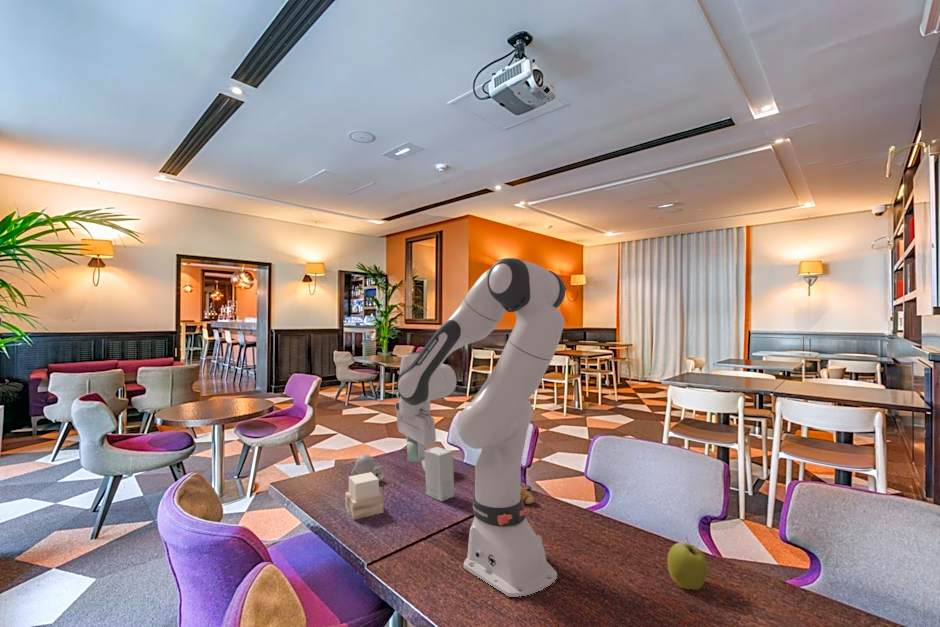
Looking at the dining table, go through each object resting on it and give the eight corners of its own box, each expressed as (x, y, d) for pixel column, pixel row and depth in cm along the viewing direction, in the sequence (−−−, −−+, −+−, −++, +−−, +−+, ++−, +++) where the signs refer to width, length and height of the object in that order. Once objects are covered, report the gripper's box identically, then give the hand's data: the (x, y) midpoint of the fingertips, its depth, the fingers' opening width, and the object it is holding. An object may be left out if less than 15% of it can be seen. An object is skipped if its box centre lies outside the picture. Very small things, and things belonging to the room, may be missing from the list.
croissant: (538, 513, 132) (543, 487, 135) (525, 509, 125) (531, 481, 128) (481, 496, 144) (487, 472, 147) (466, 491, 137) (473, 466, 140)
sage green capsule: (427, 459, 123) (427, 442, 123) (411, 463, 120) (411, 445, 120) (420, 455, 127) (420, 439, 127) (404, 458, 124) (404, 441, 125)
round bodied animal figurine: (371, 493, 145) (378, 472, 144) (346, 475, 150) (353, 454, 149) (384, 485, 152) (391, 465, 150) (360, 468, 157) (367, 448, 155)
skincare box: (454, 497, 136) (454, 451, 136) (440, 502, 132) (440, 455, 132) (438, 489, 142) (438, 445, 142) (424, 494, 138) (424, 449, 138)
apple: (654, 575, 92) (664, 529, 93) (679, 577, 95) (688, 532, 96) (686, 597, 85) (696, 546, 86) (712, 599, 88) (721, 550, 89)
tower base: (383, 513, 125) (383, 496, 125) (353, 520, 120) (353, 503, 120) (373, 502, 133) (373, 486, 133) (345, 508, 128) (345, 492, 128)
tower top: (378, 495, 126) (378, 479, 126) (355, 501, 122) (355, 484, 122) (370, 488, 131) (370, 472, 132) (348, 493, 128) (348, 476, 128)
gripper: (440, 411, 117) (441, 461, 116) (411, 400, 134) (412, 443, 134) (420, 413, 114) (421, 465, 113) (392, 402, 131) (393, 447, 131)
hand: (416, 453), depth 124 cm, fingers closed on sage green capsule, 5 cm apart
